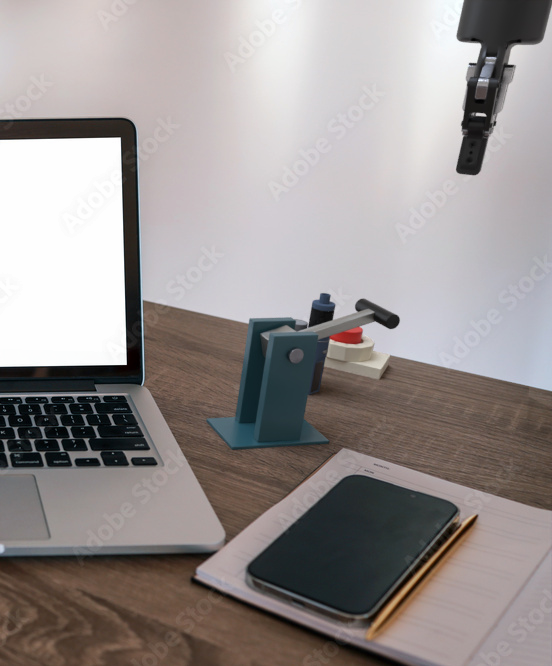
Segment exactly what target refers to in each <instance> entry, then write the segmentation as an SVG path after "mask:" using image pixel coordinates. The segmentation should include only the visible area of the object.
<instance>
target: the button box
mask: <svg viewBox="0 0 552 666" xmlns="http://www.w3.org/2000/svg"><path fill="white" fill-rule="evenodd" d="M375 344H376V343H375V341H374V340H373V338H372V337H370V336H367V335H365V334H363V333H362V338H361V343H360V344H345V343H340V342H336V341H334V340H331V339H330V341H329V346H328V352H327V356H326V358H325V363H324V368H328V369H332V370H337V371H341V372H343V373H344V372H345V373H349V374H353V375H357V376H362V377H366V378H370V379H373V380H378V381H379V380H380V379H381V377H382V376H383V374H384V372H385V371H386V369H387V368H388V366H389V365H390V359H391V354H389V353H385V352H381V351H376V350H374V347H375Z"/></svg>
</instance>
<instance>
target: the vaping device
mask: <svg viewBox="0 0 552 666" xmlns="http://www.w3.org/2000/svg"><path fill="white" fill-rule="evenodd" d="M331 296H332V295H331V294H330V293H327V292H320V294H319V298H318V299H314V300H312V302H311V308H310V313H309V314H310V315H309V318H308V321H306V320H303V319H297V318H293V319H294V320H296V325H295V331H296V332H297V331H300V330H304V329H307V328H310V327H313V326H316V325H319V324H322V323H325V322H328V321H332V320H334V316H335V315H334V314H335V309H336V303H335V302H333V301H331ZM329 341H330V336H329V337H325V338H322V339H319V340H318V341H317V347H316V353H315V358H314V364H313V369H312V375H311V381H310V386H309V392H308V396H311V395H312V394H315V393H318V392H320V389H321V385H322V379H323V374H324V369H325V367H324V363H325V358H326V356H327V352H328V346H329Z"/></svg>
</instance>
